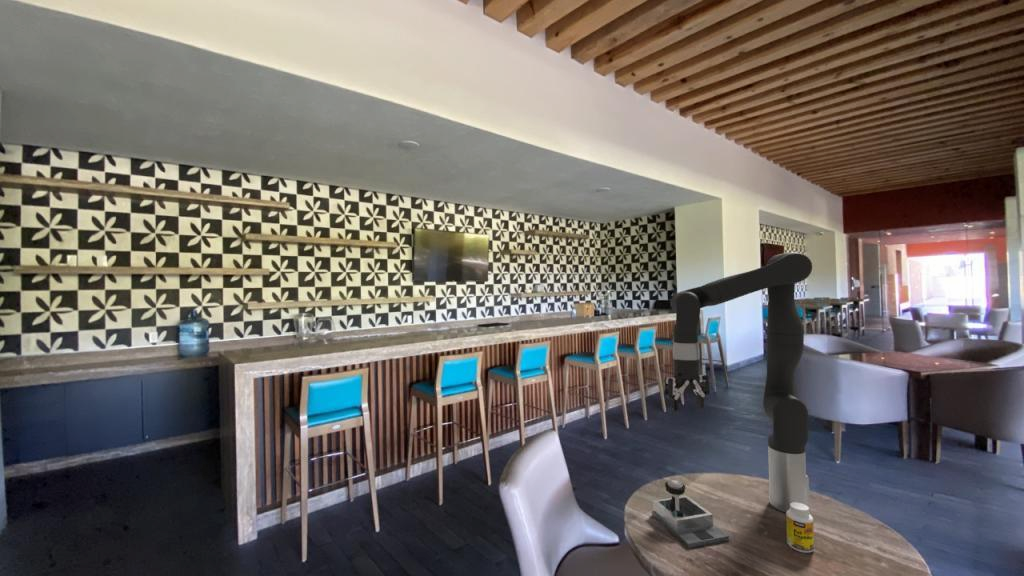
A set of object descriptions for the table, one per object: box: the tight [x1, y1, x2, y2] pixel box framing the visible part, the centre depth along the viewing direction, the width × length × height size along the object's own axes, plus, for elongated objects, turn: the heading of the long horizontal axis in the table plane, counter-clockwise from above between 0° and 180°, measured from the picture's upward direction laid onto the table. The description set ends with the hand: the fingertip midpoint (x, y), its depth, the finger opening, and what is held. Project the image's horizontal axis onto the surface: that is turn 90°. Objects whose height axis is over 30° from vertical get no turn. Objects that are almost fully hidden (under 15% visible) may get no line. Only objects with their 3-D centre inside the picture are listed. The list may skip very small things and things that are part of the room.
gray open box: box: [651, 494, 730, 550], centre depth 112 cm, size 12×16×4 cm
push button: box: [664, 478, 686, 518], centre depth 114 cm, size 7×5×10 cm
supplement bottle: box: [785, 502, 815, 554], centre depth 102 cm, size 6×6×10 cm
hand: (687, 410), depth 125 cm, fingers open, 8 cm apart
